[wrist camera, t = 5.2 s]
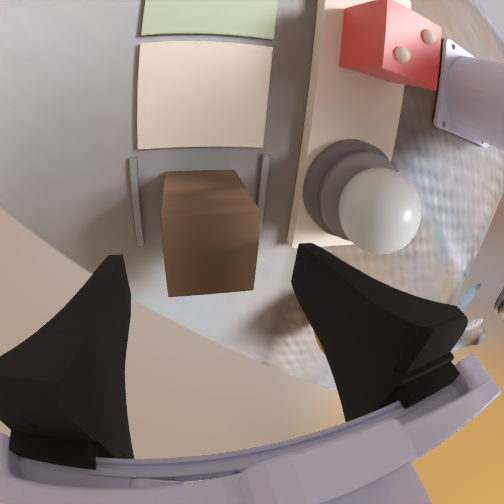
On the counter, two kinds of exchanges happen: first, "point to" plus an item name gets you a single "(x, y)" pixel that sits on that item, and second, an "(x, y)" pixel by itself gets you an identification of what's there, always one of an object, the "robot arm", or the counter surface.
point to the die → (391, 44)
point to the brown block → (208, 233)
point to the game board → (257, 97)
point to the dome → (369, 203)
